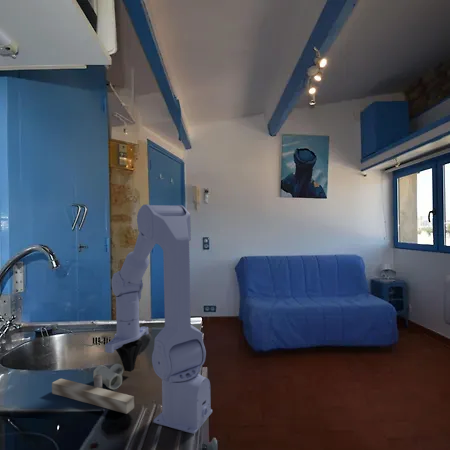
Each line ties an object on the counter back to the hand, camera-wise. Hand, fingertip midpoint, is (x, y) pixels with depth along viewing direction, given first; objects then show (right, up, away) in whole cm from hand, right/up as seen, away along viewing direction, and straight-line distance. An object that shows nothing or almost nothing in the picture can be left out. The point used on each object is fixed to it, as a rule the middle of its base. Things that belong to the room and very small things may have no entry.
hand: (129, 370), depth 86 cm
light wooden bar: (-5, -2, -11) cm, 12 cm away
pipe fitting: (-3, -2, -3) cm, 5 cm away
